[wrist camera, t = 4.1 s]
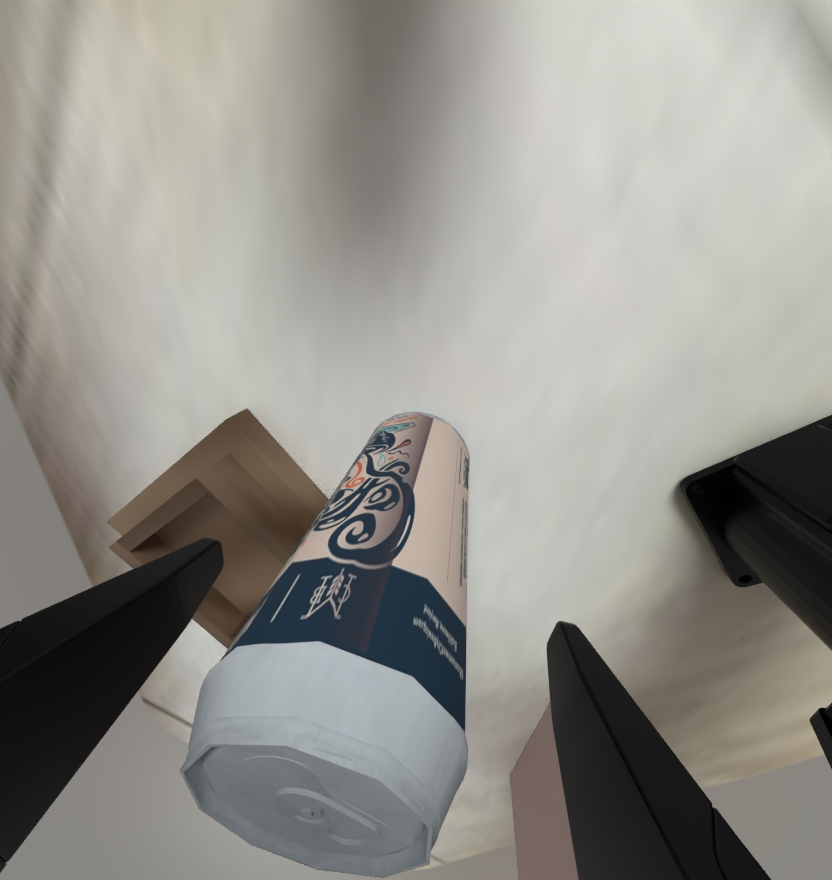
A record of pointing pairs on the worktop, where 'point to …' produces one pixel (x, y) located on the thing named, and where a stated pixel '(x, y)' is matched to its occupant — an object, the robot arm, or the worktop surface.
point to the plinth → (225, 517)
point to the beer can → (351, 671)
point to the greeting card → (541, 810)
